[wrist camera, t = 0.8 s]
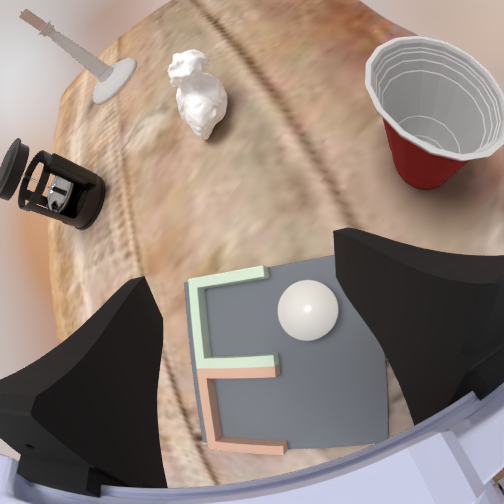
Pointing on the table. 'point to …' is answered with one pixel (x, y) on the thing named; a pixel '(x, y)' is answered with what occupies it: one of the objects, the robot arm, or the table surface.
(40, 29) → the candlestick
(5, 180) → the french press
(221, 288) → the mat
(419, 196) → the table surface
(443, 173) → the plastic cup
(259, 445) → the pink u-shaped rail
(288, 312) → the white dome
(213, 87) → the white sheep figurine
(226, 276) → the mint green c bracket
